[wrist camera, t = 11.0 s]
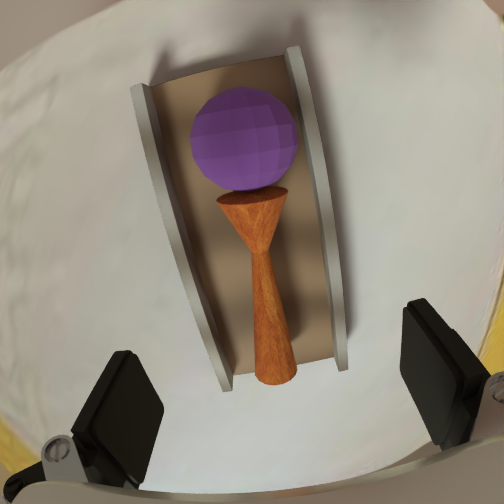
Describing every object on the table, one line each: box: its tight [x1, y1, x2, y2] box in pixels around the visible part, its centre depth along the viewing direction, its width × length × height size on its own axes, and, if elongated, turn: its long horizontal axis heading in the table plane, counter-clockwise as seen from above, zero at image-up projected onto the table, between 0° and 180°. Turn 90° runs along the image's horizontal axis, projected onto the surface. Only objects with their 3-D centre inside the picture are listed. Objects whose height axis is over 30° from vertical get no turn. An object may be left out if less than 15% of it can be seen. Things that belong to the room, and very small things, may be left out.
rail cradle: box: [130, 46, 348, 392], centre depth 22 cm, size 24×11×3 cm, turn 12°
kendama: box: [190, 87, 299, 385], centre depth 20 cm, size 6×6×20 cm
